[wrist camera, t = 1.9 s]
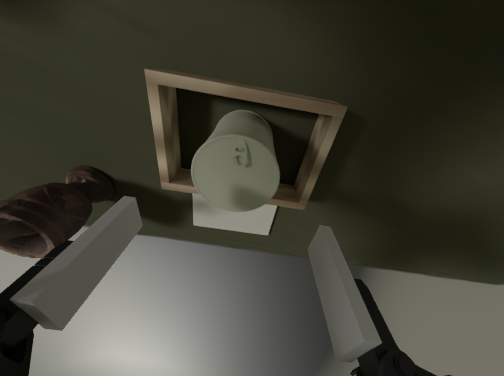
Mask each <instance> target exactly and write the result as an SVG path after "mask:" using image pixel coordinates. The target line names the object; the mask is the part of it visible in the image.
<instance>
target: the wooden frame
mask: <svg viewBox="0 0 504 376" xmlns="http://www.w3.org/2000/svg"><path fill="white" fill-rule="evenodd" d="M144 70H145V77H146V84H147V91H148V97H149V104H150V111H151V118H152V125H153V132H154V138H155V145H156V152H157V159H158V166H159V172H160V179H161V186H162V189H167V190H173V191H180V192H187V193H194V194H199V193H198V191H197V190H196V188H195V186H194V184H193V181H192V176H191V169H184V168H181V156H180V141H179V127H178V112H177V97H176V88H181V89H187V90H192V91H198V92H203V93H209V94H214V95H220V96H225V97H231V98H236V99H242V100H247V101H253V102H258V103H263V104H269V105H274V106H280V107H285V108H291V109H296V110H302V111H307V112H313V113H318V114H319V115H318V118H317V121H316V124H315V127H314V129H313V132H312V135H311V138H310V141H309V144H308V147H307V149H306V152H305V155H304V158H303V161H302V164H301V167H300V170H299V172H298V175H297V178H296V181H295V184H294V186H293V185H287V184H280V183H279V186H278V188H277V191H276V193H275V194H274V196H273V197H272V198H271V199H270V200H269V201H268V202H267V203H266V204H268V205H275V206H281V207H288V208H295V209H302V210H304V209H305V206H306V204H307V202H308V199H309V197H310V195H311V192H312V190H313V188H314V185H315V183H316V181H317V178H318V176H319V174H320V171H321V169H322V167H323V164H324V162H325V159H326V157H327V155H328V152H329V150H330V148H331V145H332V143H333V141H334V138H335V136H336V134H337V131H338V129H339V127H340V124H341V122H342V120H343V117H344V115H345V112H346V110H347V108H348V107H347V106H344V105H342V104H339V103H337V102H335V101H332V100H327V99H321V98H316V97H311V96H305V95H300V94H295V93H289V92H284V91H279V90H273V89H268V88H263V87H257V86H252V85H247V84H242V83H236V82H231V81H226V80H220V79H215V78H210V77H204V76H199V75H194V74H188V73H183V72H178V71H172V70H167V69H144Z"/></svg>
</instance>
